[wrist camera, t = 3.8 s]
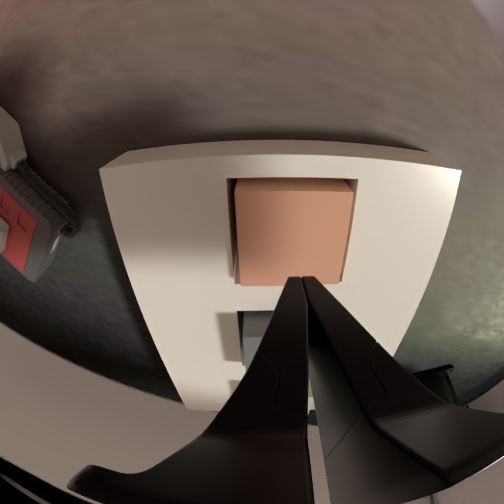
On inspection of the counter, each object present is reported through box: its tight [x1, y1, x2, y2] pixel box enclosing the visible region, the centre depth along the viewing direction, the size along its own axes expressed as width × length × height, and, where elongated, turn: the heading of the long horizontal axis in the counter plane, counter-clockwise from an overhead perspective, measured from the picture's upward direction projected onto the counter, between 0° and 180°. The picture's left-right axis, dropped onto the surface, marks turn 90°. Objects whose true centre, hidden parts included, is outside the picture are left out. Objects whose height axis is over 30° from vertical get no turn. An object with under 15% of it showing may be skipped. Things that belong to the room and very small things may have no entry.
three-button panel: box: [99, 140, 461, 411], centre depth 17 cm, size 16×21×3 cm
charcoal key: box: [243, 310, 310, 380], centre depth 16 cm, size 4×4×4 cm
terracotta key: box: [235, 177, 354, 286], centre depth 13 cm, size 4×4×4 cm
